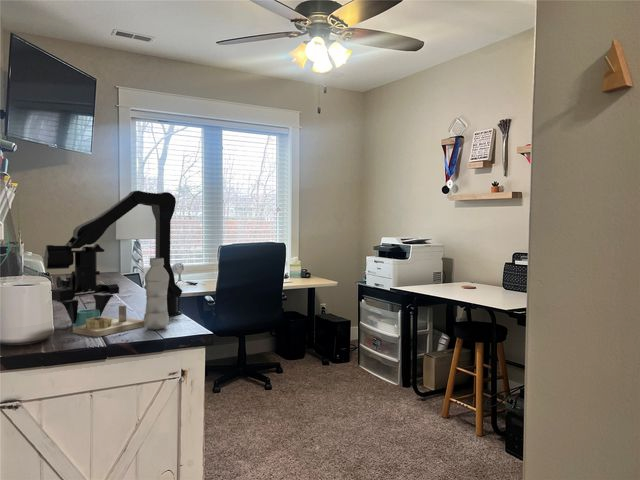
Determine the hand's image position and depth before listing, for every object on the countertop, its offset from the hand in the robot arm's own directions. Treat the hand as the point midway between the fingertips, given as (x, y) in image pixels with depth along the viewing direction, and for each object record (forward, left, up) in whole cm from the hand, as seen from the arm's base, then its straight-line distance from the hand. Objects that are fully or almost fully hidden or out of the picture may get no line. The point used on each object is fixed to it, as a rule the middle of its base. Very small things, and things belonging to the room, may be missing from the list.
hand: (86, 321), depth 133 cm
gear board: (0, +11, -1) cm, 11 cm away
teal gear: (0, 0, -1) cm, 1 cm away
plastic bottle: (-6, +22, -1) cm, 23 cm away
